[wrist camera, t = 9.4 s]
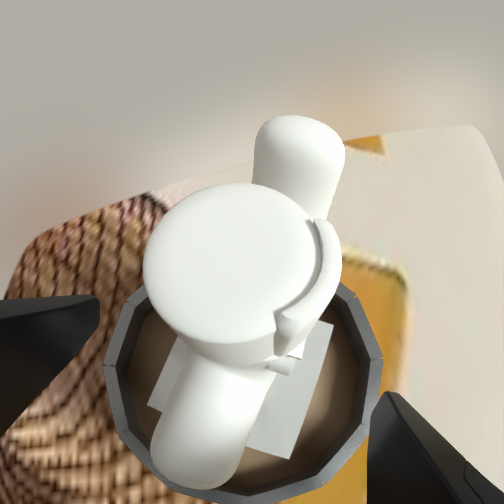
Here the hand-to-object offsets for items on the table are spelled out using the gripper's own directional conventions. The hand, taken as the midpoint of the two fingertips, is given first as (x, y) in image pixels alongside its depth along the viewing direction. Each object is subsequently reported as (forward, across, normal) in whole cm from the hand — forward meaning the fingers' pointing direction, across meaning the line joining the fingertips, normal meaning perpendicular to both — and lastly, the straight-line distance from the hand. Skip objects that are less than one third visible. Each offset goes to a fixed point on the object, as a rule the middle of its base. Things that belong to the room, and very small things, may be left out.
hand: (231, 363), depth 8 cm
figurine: (+8, 0, +7) cm, 10 cm away
